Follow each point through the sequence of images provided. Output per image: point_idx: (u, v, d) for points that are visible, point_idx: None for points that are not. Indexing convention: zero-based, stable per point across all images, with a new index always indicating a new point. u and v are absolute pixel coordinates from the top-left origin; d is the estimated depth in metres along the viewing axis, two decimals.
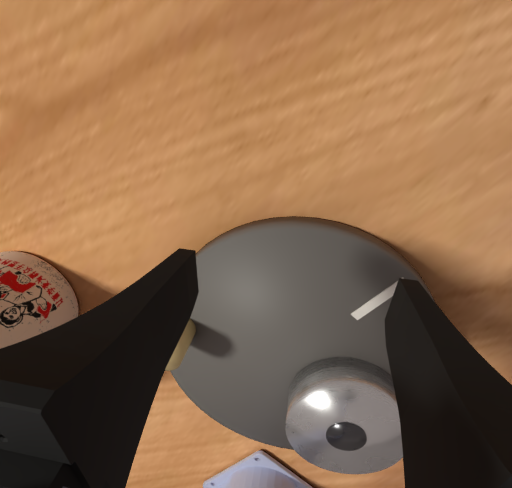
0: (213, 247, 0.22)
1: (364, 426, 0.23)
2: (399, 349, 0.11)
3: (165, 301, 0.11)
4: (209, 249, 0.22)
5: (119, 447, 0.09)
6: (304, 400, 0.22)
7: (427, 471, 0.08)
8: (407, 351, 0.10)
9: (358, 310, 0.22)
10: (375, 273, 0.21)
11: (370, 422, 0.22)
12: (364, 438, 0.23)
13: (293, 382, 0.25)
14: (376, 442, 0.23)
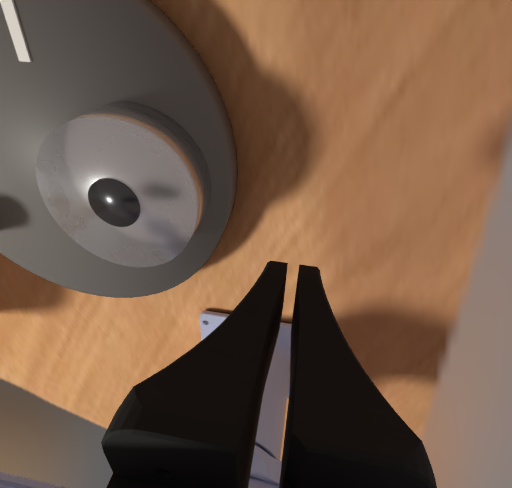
0: None
1: (109, 173, 0.16)
2: (293, 332, 0.11)
3: (273, 318, 0.10)
4: None
5: (247, 474, 0.08)
6: (40, 191, 0.18)
7: (285, 443, 0.09)
8: (294, 333, 0.11)
9: (16, 47, 0.17)
10: None
11: (105, 162, 0.16)
12: (124, 188, 0.16)
13: None
14: (143, 185, 0.16)
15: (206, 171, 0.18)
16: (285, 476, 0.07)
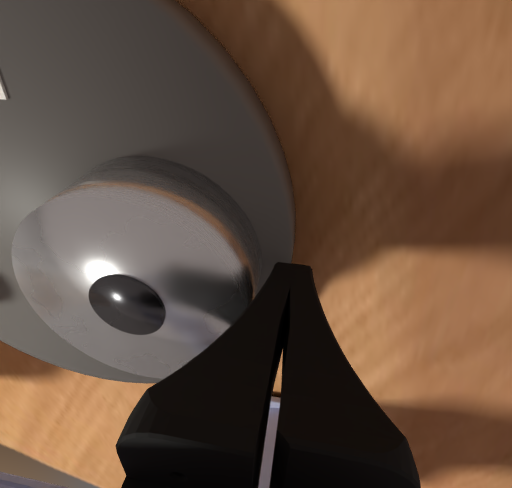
0: None
1: (120, 268, 0.11)
2: (285, 331, 0.11)
3: (283, 319, 0.10)
4: None
5: (258, 477, 0.08)
6: (20, 285, 0.12)
7: None
8: (286, 332, 0.11)
9: None
10: None
11: (114, 254, 0.10)
12: (142, 290, 0.11)
13: None
14: (171, 285, 0.11)
15: (257, 250, 0.13)
16: (271, 473, 0.07)
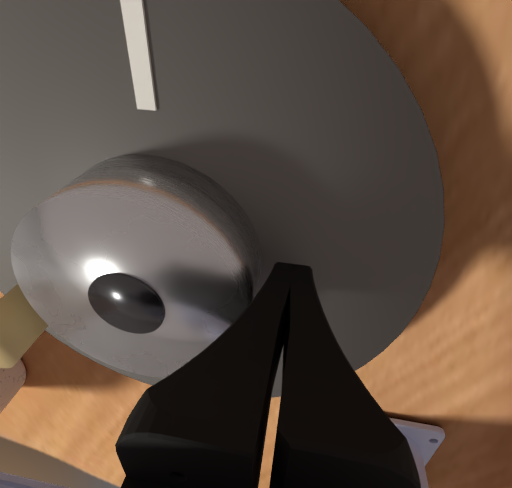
0: None
1: (120, 267, 0.11)
2: (285, 331, 0.11)
3: (282, 319, 0.10)
4: None
5: (258, 476, 0.08)
6: (18, 281, 0.12)
7: None
8: (286, 332, 0.11)
9: (136, 89, 0.10)
10: None
11: (115, 253, 0.10)
12: (143, 289, 0.11)
13: None
14: (172, 285, 0.11)
15: (258, 251, 0.13)
16: (272, 473, 0.07)
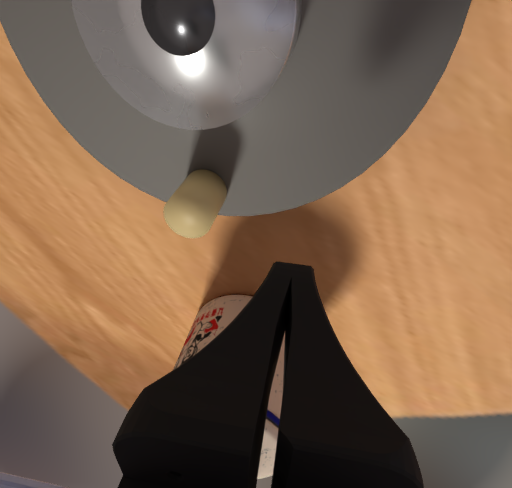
0: (80, 143, 0.19)
1: None
2: (286, 331, 0.11)
3: (280, 319, 0.10)
4: (86, 147, 0.19)
5: (255, 476, 0.08)
6: (130, 103, 0.14)
7: None
8: (288, 332, 0.11)
9: None
10: None
11: None
12: None
13: None
14: None
15: None
16: (274, 474, 0.07)
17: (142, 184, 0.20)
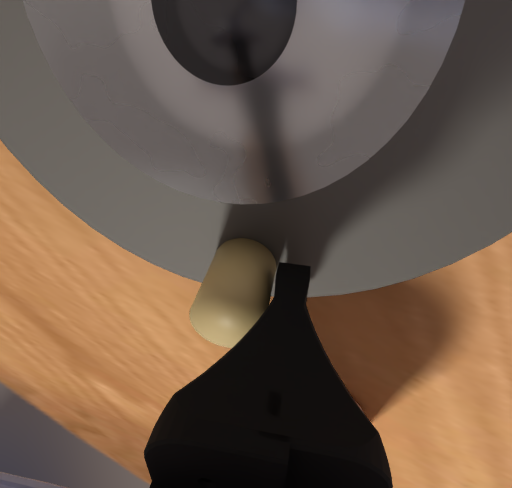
0: (64, 203, 0.13)
1: None
2: None
3: None
4: None
5: None
6: (134, 164, 0.08)
7: None
8: None
9: None
10: None
11: None
12: None
13: None
14: None
15: None
16: None
17: (153, 256, 0.14)
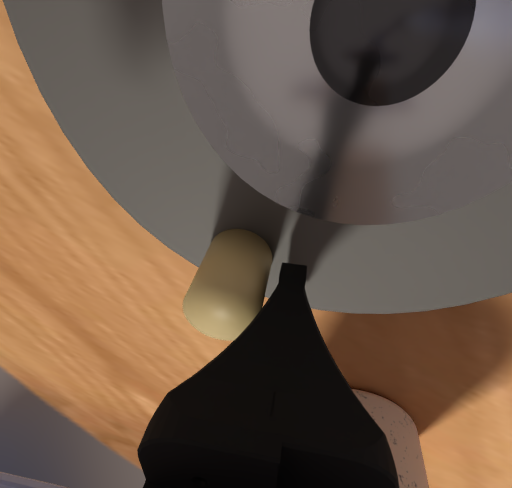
0: (64, 130, 0.12)
1: None
2: None
3: None
4: None
5: None
6: (206, 135, 0.08)
7: None
8: None
9: None
10: None
11: None
12: None
13: None
14: None
15: None
16: None
17: (146, 219, 0.13)
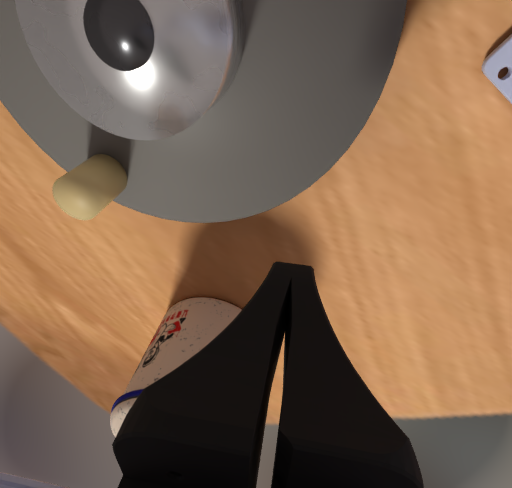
0: None
1: None
2: (286, 331, 0.11)
3: (280, 319, 0.10)
4: None
5: (255, 476, 0.08)
6: (48, 80, 0.14)
7: None
8: (287, 332, 0.11)
9: None
10: None
11: None
12: None
13: None
14: None
15: None
16: (274, 474, 0.07)
17: (43, 143, 0.19)
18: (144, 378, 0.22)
